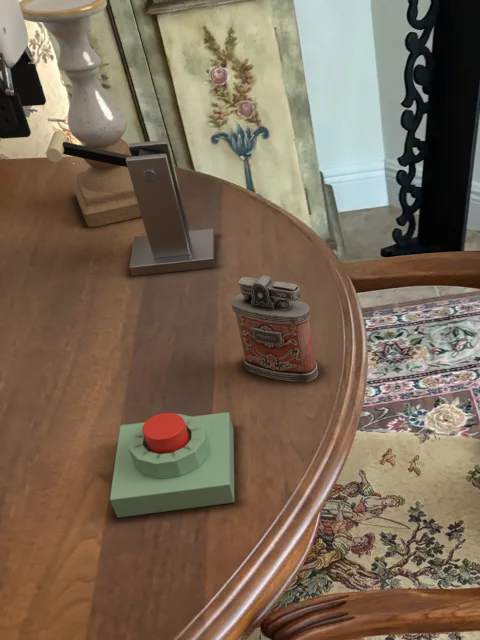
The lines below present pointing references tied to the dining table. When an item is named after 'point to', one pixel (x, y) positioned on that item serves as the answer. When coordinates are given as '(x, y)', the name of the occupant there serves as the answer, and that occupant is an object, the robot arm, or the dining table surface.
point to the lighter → (275, 330)
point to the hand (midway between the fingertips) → (24, 120)
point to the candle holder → (89, 110)
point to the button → (165, 433)
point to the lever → (85, 151)
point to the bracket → (164, 217)
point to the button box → (175, 469)
